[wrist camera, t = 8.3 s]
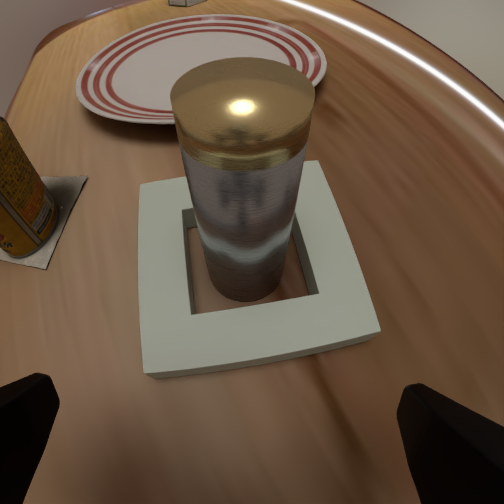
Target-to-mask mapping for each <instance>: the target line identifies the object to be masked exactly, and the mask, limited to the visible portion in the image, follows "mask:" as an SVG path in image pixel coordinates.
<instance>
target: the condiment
mask: <svg viewBox="0 0 504 504" xmlns="http://www.w3.org/2000/svg"><path fill="white" fill-rule="evenodd" d="M86 178H87V176H79V177H77V176H75V177H52V178H51V177H40V176H39V175H38V173H37V172H36V170H35V169H34V167H33V165H32V164H31V162H30V161H29V159H28V157H27V156H26V154H25V153H24V151H23V149H22V148H21V146H20V144H19V142H18V141H17V139H16V137H15V136H14V134H13V132H12V130H11V128H10V127H9V125H8V123H7V121H6V120H5V119H4V118H3V117H0V260H3V261H8V262H12V263H17V264H21V265H26V266H33V267H38V268H42V269H46V267H47V264H48V262H49V259H50V257H51V255H52V253H53V250H54V248H55V246H56V242H57V240H58V239H59V237H60V234H61V232H62V228H63V227H64V225H65V222H66V220H67V218H68V215H69V212H70V209H71V208H72V206H73V205H74V202H75V200H76V199H77V197H78V195H79V193H80V190H81V187H82V185H83V183H84V182H85V180H86ZM61 206H63V208H61Z"/></svg>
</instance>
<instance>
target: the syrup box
mask: <svg viewBox="0 0 504 504" xmlns="http://www.w3.org/2000/svg"><path fill="white" fill-rule="evenodd" d="M204 1H207V0H168V3H169V5H172V6H185V7H189V6H192V5H195V4H198V3H201V2H204Z"/></svg>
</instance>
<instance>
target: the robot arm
mask: <svg viewBox="0 0 504 504" xmlns="http://www.w3.org/2000/svg"><path fill="white" fill-rule="evenodd" d="M59 405H60V401H59V397H58V394H57V392H56V389H55V387H54V384H53V381H52V379H51V377H50V376H48V375H46V374H42V373H34V374H32V375H29V376H27V377H24V378H22V379H20V380H17V381H15V382H12V383H10V384H7V385H5V386H3V387H0V504H23V501H24V499H25V496H26V494H27V491H28V489H29V486H30V483H31V481H32V479H33V476H34V474H35V471H36V469H37V467H38V464H39V462H40V460H41V457H42V455H43V452H44V450H45V447H46V444H47V441H48V438H49V435H50V432H51V429H52V426H53V423H54V420H55V417H56V415H57V412H58V409H59ZM397 420H398V424H399V428H400V432H401V436H402V441H403V445H404V449H405V453H406V458H407V462H408V466H409V469H410V472H411V475H412V478H413V481H414V484H415V486H416V489H417V492H418V495H419V498H420V501H421V504H504V427H503V426H501V425H499V424H497V423H495V422H493V421H491V420H490V419H488V418H486V417H484V416H482V415H480V414H478V413H476V412H474V411H472V410H470V409H468V408H467V407H465V406H463V405H461V404H459V403H457V402H455V401H453V400H451V399H450V398H448V397H446V396H444V395H442V394H440V393H438V392H437V391H435V390H433V389H431V388H429V387H427V386H425V385H424V384H421V383H417V384H411V385H407V386H406V387H405V388H404V390H403V393H402V396H401V400H400V403H399V406H398V409H397Z"/></svg>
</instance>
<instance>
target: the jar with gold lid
mask: <svg viewBox="0 0 504 504" xmlns="http://www.w3.org/2000/svg"><path fill="white" fill-rule="evenodd" d="M170 100H171V106H172V111H173V116H174V121H175V126H176V131H177V136H178V141H179V146H180V151H181V155H182V160H183V165H184V169H185V174H186V178H187V183H188V188H189V192H190V196H191V201H192V205H193V209H194V214H195V218H196V222H197V227H198V231H199V235H200V239H201V243H202V247H203V251H204V255H205V259H206V263H207V267H208V271H209V275H210V278H211V281H212V283H213V285H214V286H215V288H216V289H217V290H218V291H219V292H220V293H221V294H222V295H224V296H225V297H227V298H229V299H232V300H235V301H240V302H251V301H256V300H259V299H262V298H264V297H266V296H267V295H269V294H270V293H271V292H273V290H274V289H275V288H276V287H277V285H278V284H279V282H280V280H281V277H282V272H283V267H284V263H285V258H286V253H287V248H288V243H289V238H290V233H291V228H292V223H293V218H294V212H295V207H296V202H297V197H298V191H299V186H300V181H301V175H302V170H303V164H304V159H305V153H306V147H307V142H308V136H309V130H310V124H311V118H312V112H313V106H314V100H315V89H314V86H313V84H312V83H311V81H310V80H309V79H308V78H307V77H306V76H305V75H304V74H303V73H302V72H300V71H298V70H297V69H295V68H293V67H291V66H289V65H286V64H284V63H281V62H277V61H274V60H269V59H263V58H254V57H234V58H226V59H220V60H215V61H211V62H208V63H205V64H202V65H200V66H197V67H195V68H193V69H191V70H189V71H188V72H186V73H185V74H183V75H182V76H181V77H180V78H179V79H178V80H177V81H176V82H175V84H174V85H173V87H172V89H171V93H170Z"/></svg>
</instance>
